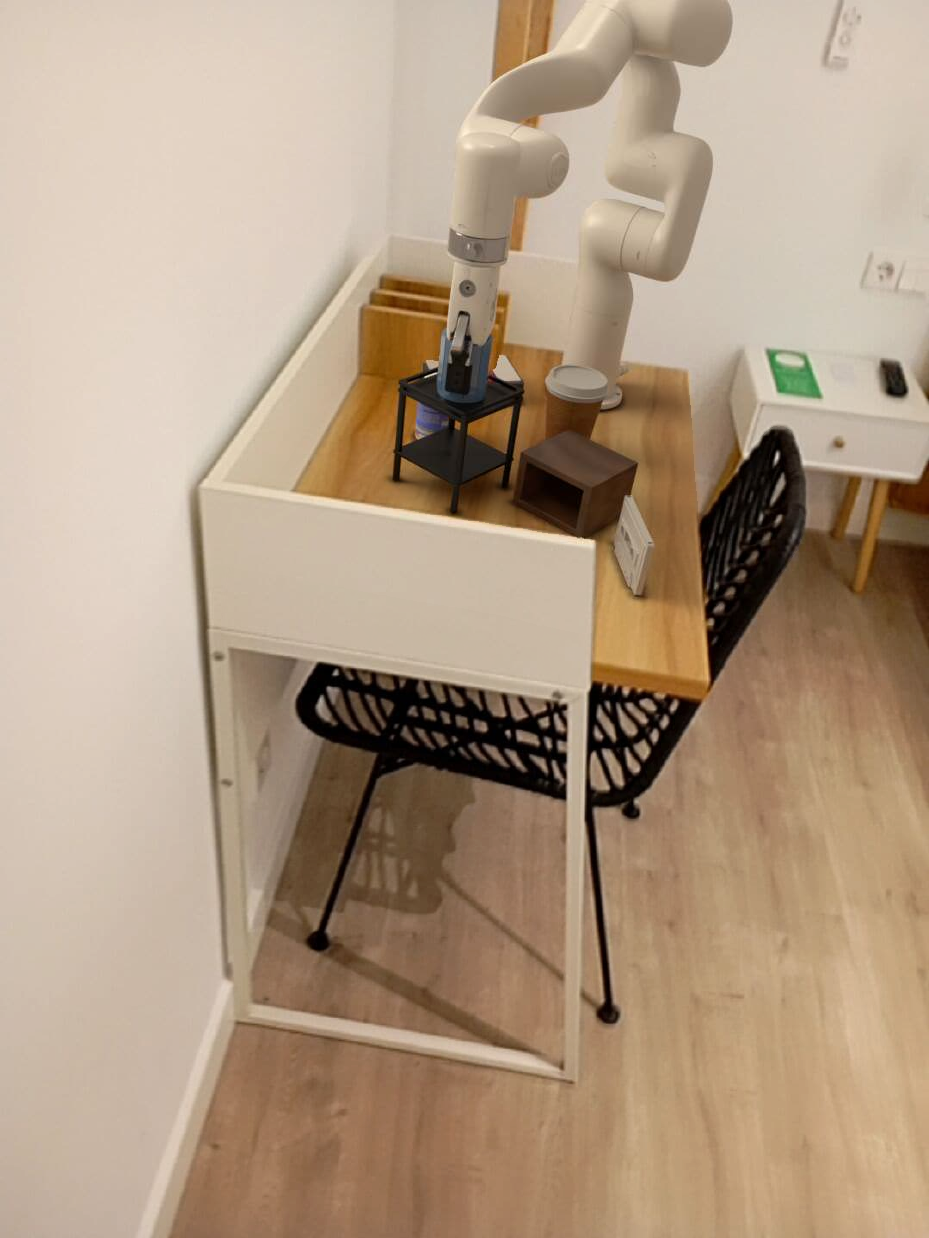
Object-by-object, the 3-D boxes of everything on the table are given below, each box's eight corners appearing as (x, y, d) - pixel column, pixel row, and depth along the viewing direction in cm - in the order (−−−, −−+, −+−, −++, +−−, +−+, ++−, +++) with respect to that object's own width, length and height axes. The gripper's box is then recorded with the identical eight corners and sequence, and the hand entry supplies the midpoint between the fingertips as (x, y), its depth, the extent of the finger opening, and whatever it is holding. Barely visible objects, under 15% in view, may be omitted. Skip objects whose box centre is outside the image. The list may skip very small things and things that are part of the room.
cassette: (609, 543, 136) (621, 493, 131) (623, 543, 136) (635, 494, 132) (630, 596, 127) (644, 545, 122) (645, 596, 127) (659, 545, 122)
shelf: (559, 478, 149) (568, 429, 144) (626, 512, 143) (638, 462, 138) (512, 502, 142) (520, 451, 137) (581, 539, 136) (592, 487, 131)
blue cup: (459, 377, 139) (465, 321, 134) (495, 395, 136) (503, 338, 131) (426, 389, 135) (431, 332, 130) (463, 408, 132) (470, 349, 127)
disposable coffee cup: (554, 429, 161) (567, 357, 154) (606, 450, 158) (622, 378, 150) (522, 448, 155) (534, 375, 148) (575, 471, 151) (590, 396, 144)
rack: (447, 454, 151) (458, 359, 142) (509, 487, 145) (524, 390, 136) (390, 479, 143) (398, 380, 134) (453, 515, 137) (466, 414, 128)
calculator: (421, 354, 170) (507, 351, 173) (420, 378, 172) (505, 374, 176) (435, 383, 161) (525, 378, 165) (434, 408, 164) (522, 403, 167)
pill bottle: (445, 449, 152) (452, 389, 146) (410, 442, 153) (416, 382, 147) (453, 433, 156) (460, 374, 150) (419, 426, 157) (424, 367, 151)
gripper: (496, 272, 117) (477, 414, 127) (519, 231, 130) (501, 362, 141) (433, 260, 117) (419, 402, 128) (462, 221, 131) (448, 352, 142)
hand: (462, 380), depth 135 cm, fingers closed on blue cup, 6 cm apart
